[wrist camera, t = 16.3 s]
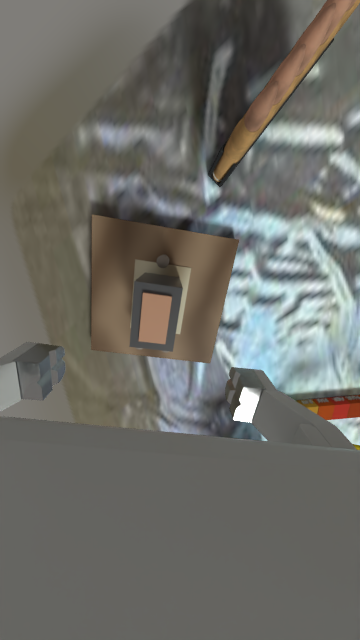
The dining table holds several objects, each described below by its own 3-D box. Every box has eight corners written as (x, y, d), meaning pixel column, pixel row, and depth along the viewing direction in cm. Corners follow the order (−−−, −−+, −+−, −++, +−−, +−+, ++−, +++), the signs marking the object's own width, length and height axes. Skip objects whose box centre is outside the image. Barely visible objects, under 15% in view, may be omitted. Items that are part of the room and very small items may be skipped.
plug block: (179, 277, 23) (183, 288, 16) (172, 324, 25) (172, 353, 18) (145, 272, 22) (133, 281, 16) (140, 320, 24) (128, 348, 18)
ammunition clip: (219, 188, 21) (274, 118, 10) (207, 175, 21) (250, 86, 10) (295, 89, 19) (481, -151, 8) (283, 72, 18) (461, -211, 7)
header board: (235, 240, 23) (251, 237, 18) (208, 357, 28) (215, 378, 24) (97, 216, 22) (76, 207, 17) (95, 344, 27) (79, 364, 22)
